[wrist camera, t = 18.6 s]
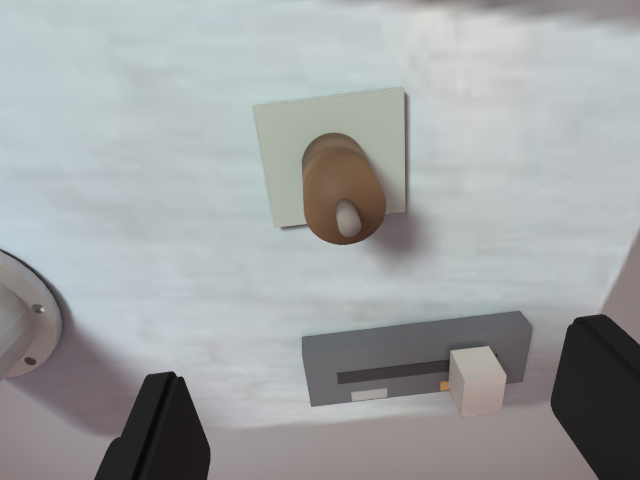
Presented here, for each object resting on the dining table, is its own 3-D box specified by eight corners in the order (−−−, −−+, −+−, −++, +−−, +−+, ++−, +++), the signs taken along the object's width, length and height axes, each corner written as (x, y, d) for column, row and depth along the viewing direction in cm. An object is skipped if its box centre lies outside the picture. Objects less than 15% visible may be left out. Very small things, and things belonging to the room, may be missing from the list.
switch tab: (448, 386, 33) (461, 417, 30) (450, 350, 31) (464, 380, 28) (484, 382, 33) (500, 413, 30) (488, 346, 31) (506, 375, 28)
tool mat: (275, 223, 28) (274, 227, 27) (253, 105, 24) (252, 107, 23) (403, 208, 28) (405, 211, 27) (401, 87, 24) (404, 88, 23)
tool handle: (323, 204, 27) (334, 279, 19) (289, 155, 25) (286, 215, 17) (375, 173, 26) (410, 237, 18) (344, 119, 24) (367, 165, 16)
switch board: (310, 387, 36) (311, 407, 34) (301, 337, 33) (302, 355, 31) (511, 364, 35) (522, 382, 34) (519, 311, 33) (533, 328, 31)
